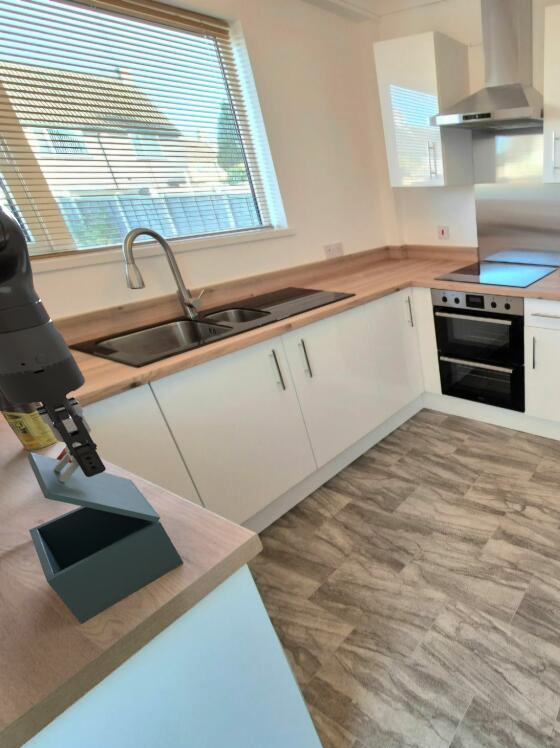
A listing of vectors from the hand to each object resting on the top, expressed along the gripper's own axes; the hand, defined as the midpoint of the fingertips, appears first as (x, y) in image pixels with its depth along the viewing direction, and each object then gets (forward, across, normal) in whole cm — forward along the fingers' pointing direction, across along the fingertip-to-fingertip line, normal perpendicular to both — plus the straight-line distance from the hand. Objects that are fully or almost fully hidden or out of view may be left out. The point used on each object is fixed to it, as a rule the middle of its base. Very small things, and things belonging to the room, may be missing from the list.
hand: (91, 465), depth 63 cm
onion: (+19, -36, -1) cm, 40 cm away
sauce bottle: (+19, -60, -4) cm, 63 cm away
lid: (+4, 0, -1) cm, 4 cm away
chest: (+18, 0, -3) cm, 18 cm away
